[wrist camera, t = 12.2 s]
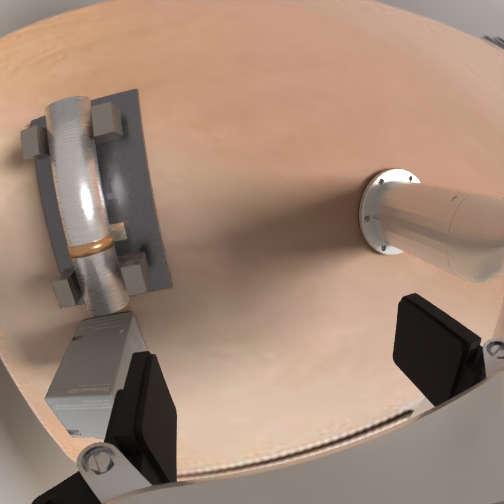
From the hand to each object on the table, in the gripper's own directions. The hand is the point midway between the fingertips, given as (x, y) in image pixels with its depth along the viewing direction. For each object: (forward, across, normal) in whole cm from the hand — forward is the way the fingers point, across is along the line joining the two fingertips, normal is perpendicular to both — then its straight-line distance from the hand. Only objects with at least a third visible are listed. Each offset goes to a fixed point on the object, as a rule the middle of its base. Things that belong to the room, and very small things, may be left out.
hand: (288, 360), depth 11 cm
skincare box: (+28, +18, +13) cm, 35 cm away
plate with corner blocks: (+27, +15, -5) cm, 31 cm away
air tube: (+22, +14, -5) cm, 27 cm away
